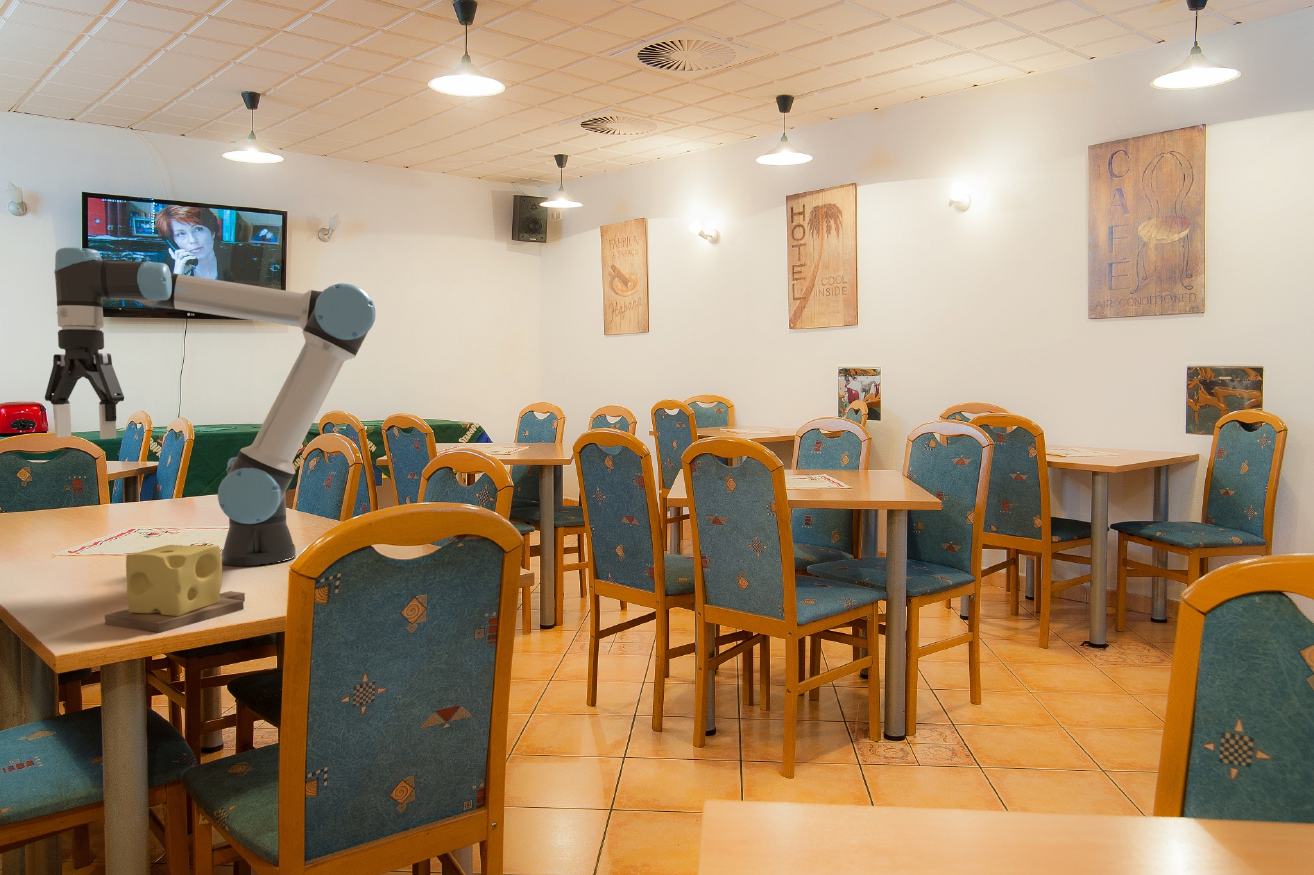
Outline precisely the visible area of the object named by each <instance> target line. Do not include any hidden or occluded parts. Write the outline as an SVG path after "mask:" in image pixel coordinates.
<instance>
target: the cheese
mask: <svg viewBox="0 0 1314 875" xmlns="http://www.w3.org/2000/svg"><path fill="white" fill-rule="evenodd" d="M221 554H222V552H221V548H220V546H219V545H179V544H168V545H164V546H163V545H162V546H159V547H156V548H153V549H147V550H143V551H139V552H133V553H128V554H126V557H125V571H126V575H125V576H126V596H127V605H128V608H127V609H129V612H130V613H148V614H150V613H160V612H161V614H162V615H169V616H181V615H183V614H186V613H188V612H191V611H194V610H197V609H200V608H203V607H206V606H210V605H213V604H216V603H219V596H220V593H221V589H222V580H223V579H222V577H223V575H222V574H223V563H222V556H221Z"/></svg>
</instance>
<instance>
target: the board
mask: <svg viewBox="0 0 1314 875" xmlns="http://www.w3.org/2000/svg"><path fill="white" fill-rule="evenodd" d="M245 594H246V593H245V592H241V591H234V590H233V591H232V590H229V591H224V592H222V593H221V592H220V596H219V603H216V604H213V605H210V606H206V607H203V608H200V609H197V610H194V611H191V612H188V613H186V614H183V615H181V616H169V615H162V614H161V612H160V613H150V614H148V613H130V612H129V608H127V609H124V610H118V611H114V612H111V613H107V614H104V624H105V625H110V626H116V627H123V628H129V629H135V630H140V629H141V631H145V632H152V631H155V632H154V633H158V632H160V633H162V632H161V631H163V632H167V631H169V630H170V629H171V630H173V629H177V627H178V628H180V627H184V625H185V626H189V625H192V624H196V623H200V622H202V621H201V620H203V621H206V619H207V620H210V619H214V618H217V617H221V616H224V615H227V614H232V613H235V612H238V611H242V609H243V610H244V602H245V601H246V597H245ZM216 616H217V617H216ZM209 618H210V619H209ZM191 623H192V624H191ZM166 630H167V631H166ZM171 630H170V631H171Z"/></svg>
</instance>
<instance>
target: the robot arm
mask: <svg viewBox="0 0 1314 875" xmlns="http://www.w3.org/2000/svg"><path fill="white" fill-rule="evenodd" d="M54 267H55V268H54V273H53V274H54V278H55V289H56V293H55V294H56V306H57V307H56V309H57V311H56V316H57V327H60V328H61V329H59V330H58V331H57V340H58V342H57V343H58V347H59V349H60V350H64V351H65V352H64V354H62V353H61V354H60V353H59V354H54V355H53V360H52V362H53V364H52V368H51V371H50V376H49V380H48V384H47V388H46V391H45V394H44V400H45V401H46V402H50V403H51V405H52V406H53V419H54V421H53V422H54V437H55V438H70V437H71V438H72V422H71V421H72V420H71V417H72V416H71V402H70V401H69V398H70V397H71V395H72V393H73V390H74V389H75V386H76V385H77V382H78V380H80V379H82V378H85V379H86V380H88V381H89V383H90V385H91V387H92V389H93V390H94V392H95V393H96V395H97V397H98V398H99V400H100V401H99V403H98V415H99V439H100V440H108V439H109V440H110V439H117V405H118V404H119V403H120V402H124V400H125V395H124V393H123V391H122V388H121V385H120V382H119V380H118V377H117V374H116V372H115V369H114V366H113V360H112V355H111V353H105V352H104V353H103V352H102V353H101V352H99V350H104V348H105V334H104V332H103V330H101V329H102V328H104V326H105V325H104V310H103V300H104V299H105V300H125V301H126V300H129V301H136V302H138V303H139V304H141V305H143V306H146V307H149V308H150V307H151V308H166V309H174V310H182V311H187V312H188V311H189V312H194V313H202V314H209V315H214V316H221V317H229V318H236V319H240V320H241V319H242V320H247V321H248V320H249V321H257V322H263V323H269V324H275V325H283V326H289V327H295V328H296V327H297V328H301V329H302V335H303V338H304V341H305V342H304V344H303V346H302V348H301V350H300V352H299V354H298V356H297V358H296V360H295V362H294V364H293V365H292V367H291V370H290V371H289V373H288V376H286V379H285V381H284V383H283V384H282V386H281V388H280V391H279V392H278V394H277V396H276V397H275V400H274V402H273V403H272V405H271V408H270V410H269V412H268V413H267V415H266V417H265V419H264V421H263V423H262V425H261V427H260V428H259V431H258V432H257V434H256V437H255V438H254V440H253V442H252V443H251V444H250V445H249V446H245V447H242V448H241V449H240V450H239V451H238V454H237V456H235V457H231V458H229V459H228V461H227V467H226V473H227V474H226V475H225V477H224V478H223V479H222V480H221V481H220V484H219V485H218V488H217V500H218V505H219V508H220V509H221V511H222V512H223V513H224V514H225V516H227V517H228V521H229V522H228V524H229V527H228V530H227V534H226V538H225V541H224V545H223V549H222V551H221V561H222V565H228V566H239V567H240V566H241V567H242V566H243V567H244V566H245V567H246V566H247V567H249V566H261V565H260V564H265V565H270V564H269V563H273V564H276V563H275V562H278V561H283V560H285V559H289V558H292V557H293V556H294V558H293V559H295V558H296V556H297V554H296V545H295V544H294V541H293V538H292V534H291V532H290V530H289V527H288V525H287V504H286V502H287V501H286V499H287V498H286V491H287V490H288V488H289V486H290V484H291V482H292V480H293V478H294V476H295V474H296V469H295V467H294V464H293V461H294V460H295V457H296V456H297V454H298V451H299V450H300V448H301V447H302V444H303V442H304V441H305V438H306V437H307V434H308V433H309V430H310V428H311V427H312V425H313V422H314V421H315V419H316V417H317V415H318V414H319V412H320V409H321V407H322V406H323V404H324V401H325V399H326V398H327V396H328V394H329V392H330V390H331V388H332V386H333V384H334V382H335V381H336V378H337V377H338V376H339V373H340V371H341V368H342V367H343V364H344V363H345V362H346V361H348V360H352V359H355V358H356V356H357V354H358V352H359V350H360V348H362V347H361V346H362V344H363V342H364V341H365V338H366V337H367V335H368V333H369V331H370V330H371V329H372V327H373V325H374V323H375V320H376V307H375V302H373V299H372V298H371V297H370V295H369V293H367V292H366V291H365V290H364V289H362V288H360V287H359V286H357V285H354V284H350V283H343V282H342V283H336V284H332V285H331V286H328V287H327V288H324V289H323V291H321V290H313V289H309V290H308V291H306V292H304V293H303V292H297V291H296V292H295V291H291V290H284V289H277V288H271V287H264V286H258V285H251V284H245V283H240V282H234V281H233V282H232V281H225V280H221V279H220V280H219V279H212V278H206V277H200V276H193V275H187V274H180V273H175V272H171V270H170V267H169V266H168V265H167V264H166V263H164V262H154V261H150V260H149V261H148V260H147V261H146V260H145V261H128V260H127V261H125V260H123V261H121V260H105V259H103V258H102V257H101V254H100V252H99V251H98V250H96V249H92V248H86V247H85V248H83V247H62V248H59V249H58V250H56V251H55V263H54ZM295 554H296V555H295Z"/></svg>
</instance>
